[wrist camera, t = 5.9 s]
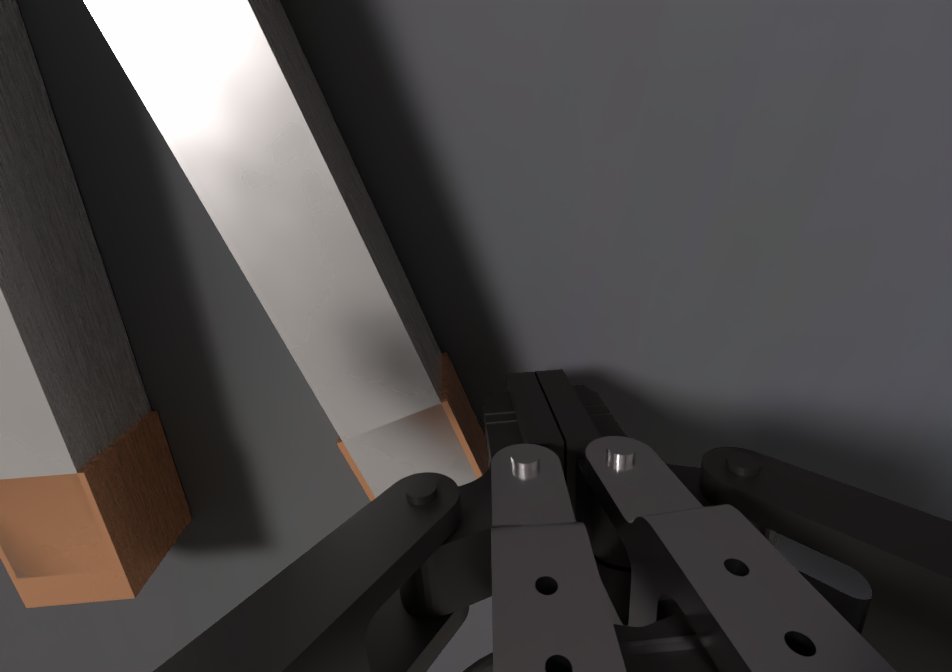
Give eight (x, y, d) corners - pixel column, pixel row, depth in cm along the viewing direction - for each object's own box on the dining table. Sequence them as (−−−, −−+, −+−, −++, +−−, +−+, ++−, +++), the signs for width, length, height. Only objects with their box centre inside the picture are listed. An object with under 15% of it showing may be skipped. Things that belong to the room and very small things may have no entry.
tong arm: (-8, -286, 9) (-227, -504, 6) (124, -356, 8) (-37, -620, 6) (414, 489, 15) (407, 563, 12) (495, 459, 15) (507, 527, 12)
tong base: (-357, -600, 7) (-1364, -1563, 3) (51, -597, 8) (-408, -1488, 4) (103, 526, 15) (-24, 660, 11) (300, 509, 15) (247, 634, 11)
